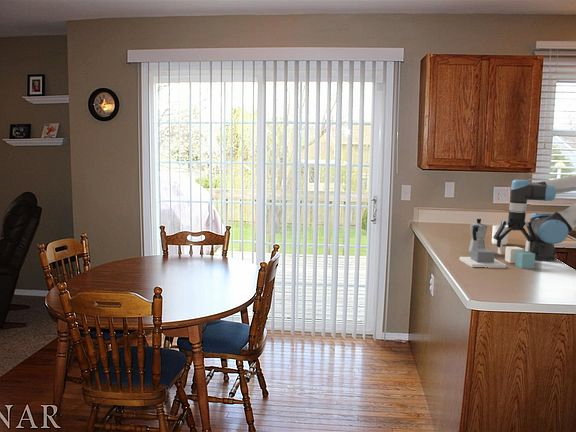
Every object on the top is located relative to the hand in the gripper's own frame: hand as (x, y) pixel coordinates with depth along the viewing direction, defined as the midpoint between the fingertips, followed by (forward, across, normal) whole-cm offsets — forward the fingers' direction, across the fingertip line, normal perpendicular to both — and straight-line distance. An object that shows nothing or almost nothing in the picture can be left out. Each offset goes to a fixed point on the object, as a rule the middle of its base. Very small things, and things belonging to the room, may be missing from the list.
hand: (513, 254), depth 242 cm
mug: (+4, -13, -44) cm, 47 cm away
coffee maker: (+4, +10, -21) cm, 24 cm away
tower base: (+4, +18, +6) cm, 19 cm away
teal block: (+4, 0, +11) cm, 12 cm away
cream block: (+4, 0, 0) cm, 4 cm away
